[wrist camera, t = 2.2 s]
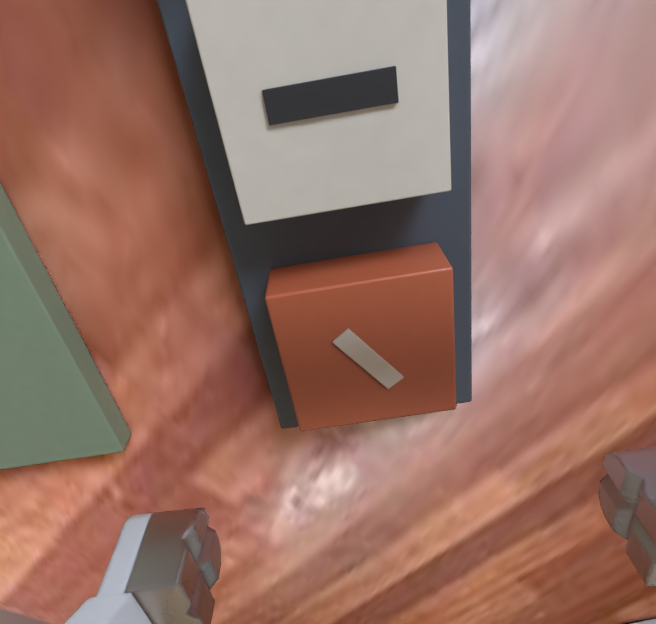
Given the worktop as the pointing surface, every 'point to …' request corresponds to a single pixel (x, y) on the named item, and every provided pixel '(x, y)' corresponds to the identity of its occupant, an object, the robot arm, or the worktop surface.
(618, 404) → the worktop surface
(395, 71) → the strip
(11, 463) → the green word strip
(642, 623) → the disposable coffee cup
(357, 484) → the worktop surface
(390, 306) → the brown flat square block
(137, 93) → the worktop surface
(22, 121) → the worktop surface
